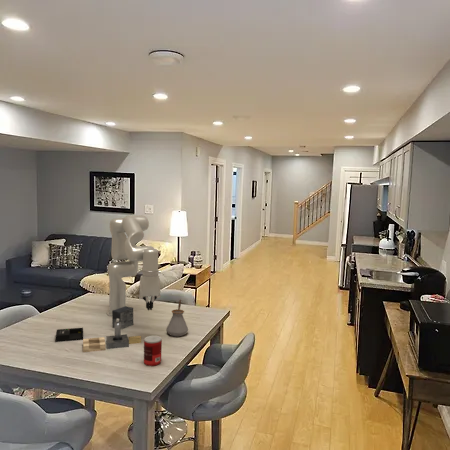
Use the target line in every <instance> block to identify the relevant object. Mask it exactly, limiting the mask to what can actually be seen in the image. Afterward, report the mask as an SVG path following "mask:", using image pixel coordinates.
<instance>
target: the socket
mask: <svg viewBox="0 0 450 450" xmlns="http://www.w3.org/2000/svg"><path fill="white" fill-rule="evenodd" d="M128 337H129V336H128V334H121V340H116V341H114V335H106V338H105V343H106V347H107V350H110V349H111V350H112V349H123V348H129V347H130V344H129V340H128Z"/></svg>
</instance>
